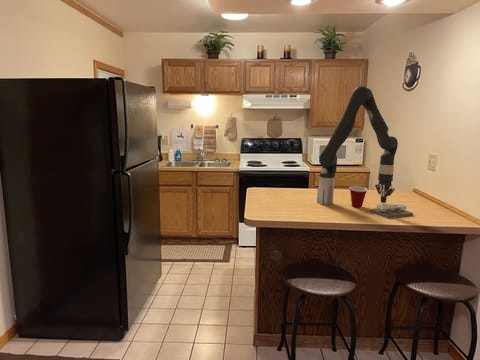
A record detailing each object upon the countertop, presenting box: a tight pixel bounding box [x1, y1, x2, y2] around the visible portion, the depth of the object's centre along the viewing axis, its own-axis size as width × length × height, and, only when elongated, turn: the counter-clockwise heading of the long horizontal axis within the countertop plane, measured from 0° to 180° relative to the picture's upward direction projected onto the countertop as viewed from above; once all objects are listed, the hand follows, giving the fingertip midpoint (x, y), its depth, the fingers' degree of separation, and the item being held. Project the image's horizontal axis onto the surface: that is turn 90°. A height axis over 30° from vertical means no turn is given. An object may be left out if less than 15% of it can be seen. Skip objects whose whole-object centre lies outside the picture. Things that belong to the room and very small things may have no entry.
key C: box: [397, 203, 407, 211], centre depth 197 cm, size 5×5×4 cm
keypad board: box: [369, 207, 414, 219], centre depth 195 cm, size 18×14×4 cm
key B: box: [385, 201, 399, 211], centre depth 194 cm, size 5×5×4 cm
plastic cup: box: [348, 185, 368, 209], centre depth 207 cm, size 11×11×12 cm
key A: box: [375, 202, 389, 212], centre depth 192 cm, size 5×5×4 cm
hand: (383, 202), depth 192 cm, fingers closed
